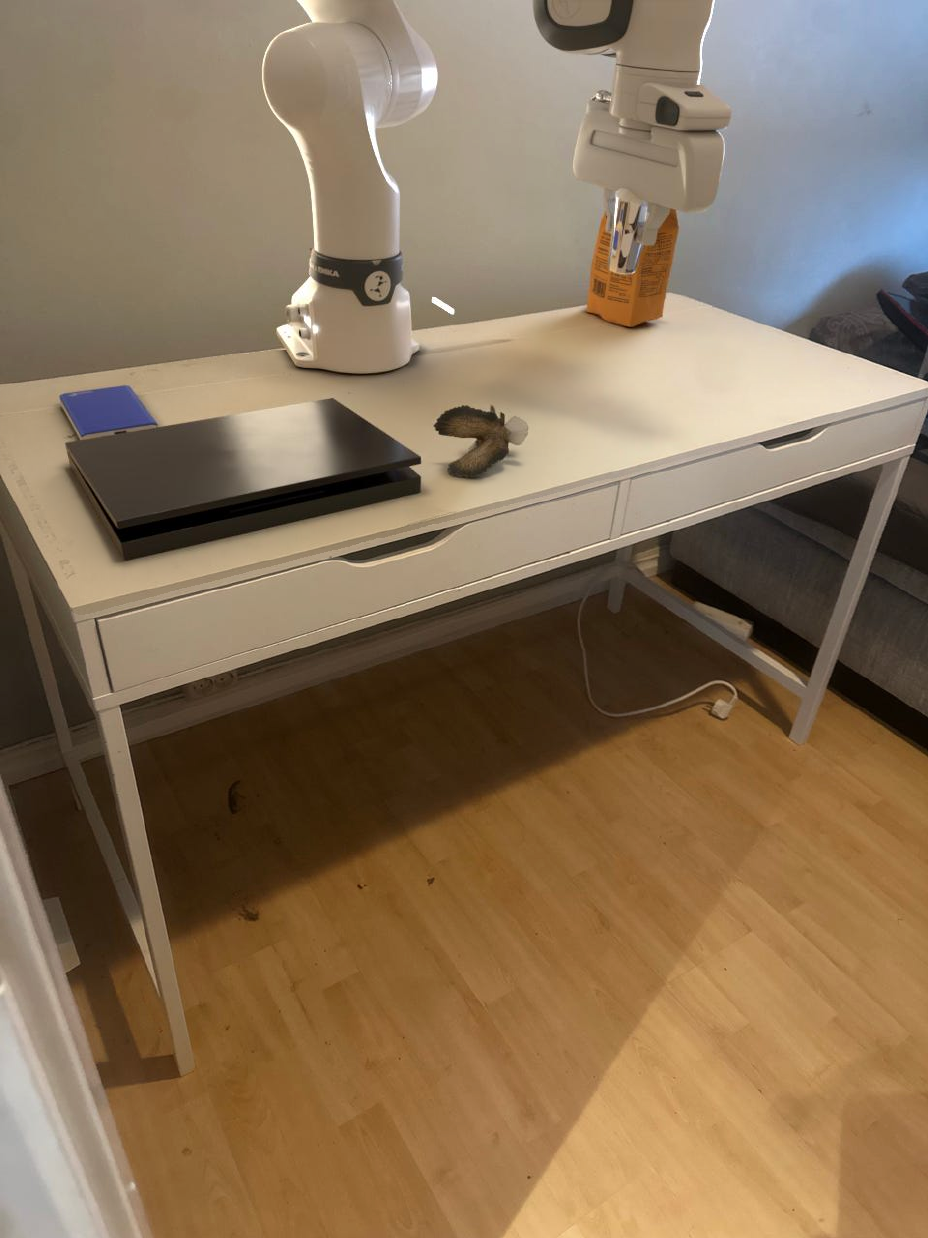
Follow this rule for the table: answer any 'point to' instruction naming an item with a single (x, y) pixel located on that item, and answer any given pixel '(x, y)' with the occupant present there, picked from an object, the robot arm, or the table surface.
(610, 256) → the milkshake
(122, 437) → the laptop screen
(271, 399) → the table surface
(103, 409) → the hard drive
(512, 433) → the eagle figurine
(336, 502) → the laptop
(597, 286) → the coffee package
